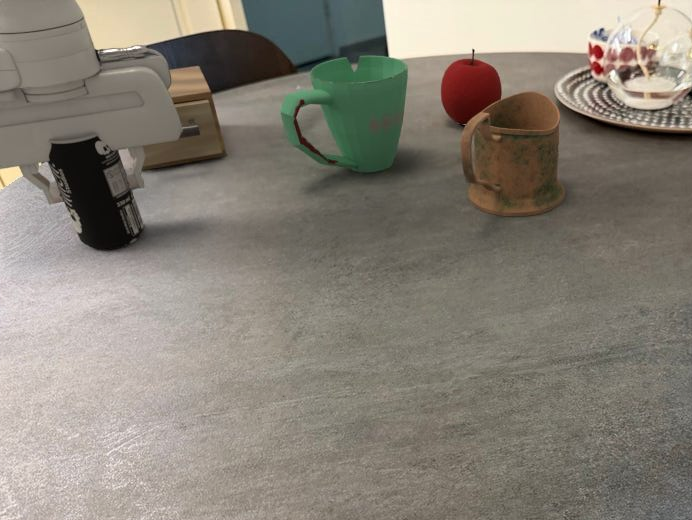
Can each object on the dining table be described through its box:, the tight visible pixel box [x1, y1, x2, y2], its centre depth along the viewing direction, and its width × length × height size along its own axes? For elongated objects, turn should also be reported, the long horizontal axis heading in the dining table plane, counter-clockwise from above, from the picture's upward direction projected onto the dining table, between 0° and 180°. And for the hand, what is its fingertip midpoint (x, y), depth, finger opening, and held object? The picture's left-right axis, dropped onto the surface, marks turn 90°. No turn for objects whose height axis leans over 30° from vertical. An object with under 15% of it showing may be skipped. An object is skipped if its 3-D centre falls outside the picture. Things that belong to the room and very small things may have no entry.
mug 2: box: [460, 90, 566, 217], centre depth 78 cm, size 12×18×12 cm, turn 152°
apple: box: [440, 48, 503, 125], centre depth 101 cm, size 9×9×10 cm
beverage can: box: [47, 133, 145, 251], centre depth 73 cm, size 7×7×12 cm
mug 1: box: [279, 55, 409, 173], centre depth 87 cm, size 18×12×12 cm
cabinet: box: [132, 65, 228, 171], centre depth 96 cm, size 14×12×9 cm
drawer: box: [143, 99, 222, 166], centre depth 93 cm, size 17×10×7 cm, turn 24°
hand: (97, 194), depth 74 cm, fingers closed on beverage can, 6 cm apart
